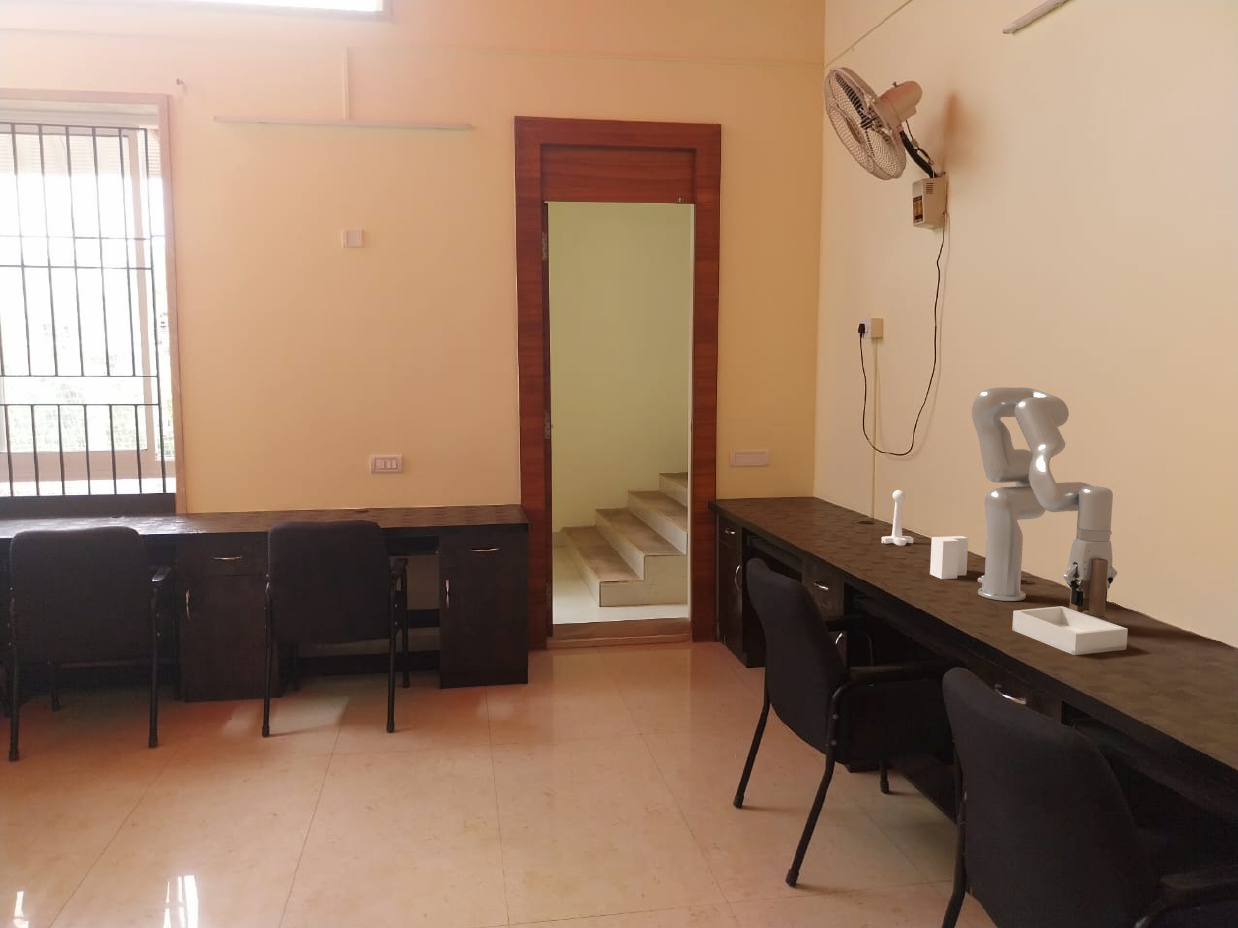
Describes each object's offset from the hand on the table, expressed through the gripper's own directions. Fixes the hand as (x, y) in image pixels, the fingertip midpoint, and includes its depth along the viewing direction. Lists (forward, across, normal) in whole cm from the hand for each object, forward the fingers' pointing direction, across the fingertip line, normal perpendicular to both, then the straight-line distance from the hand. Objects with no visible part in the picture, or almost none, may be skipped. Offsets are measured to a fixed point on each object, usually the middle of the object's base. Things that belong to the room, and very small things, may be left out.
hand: (1088, 603), depth 224 cm
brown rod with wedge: (+6, 0, 0) cm, 6 cm away
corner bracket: (+6, -1, -57) cm, 57 cm away
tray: (+6, +14, +8) cm, 17 cm away
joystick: (+6, -14, -102) cm, 103 cm away
